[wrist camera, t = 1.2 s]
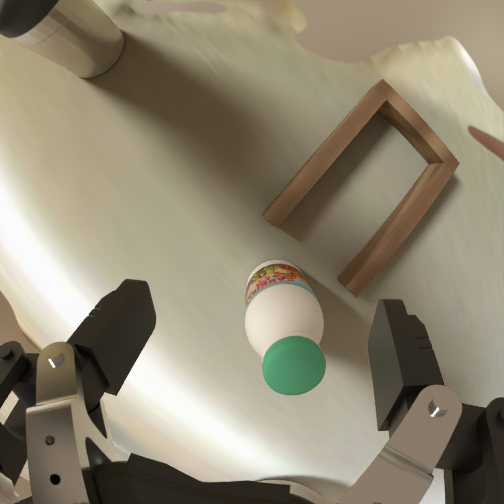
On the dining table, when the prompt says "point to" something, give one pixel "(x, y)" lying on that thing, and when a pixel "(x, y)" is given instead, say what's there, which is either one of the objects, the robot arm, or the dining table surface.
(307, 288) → the milk bottle
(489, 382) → the dining table surface
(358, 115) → the walnut U-rest
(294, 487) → the pot
